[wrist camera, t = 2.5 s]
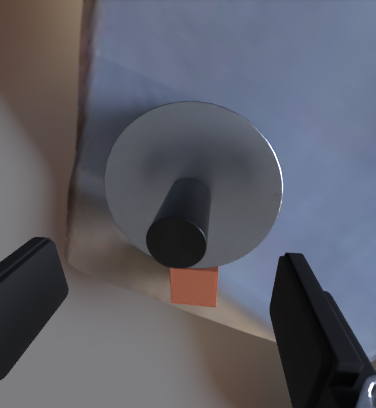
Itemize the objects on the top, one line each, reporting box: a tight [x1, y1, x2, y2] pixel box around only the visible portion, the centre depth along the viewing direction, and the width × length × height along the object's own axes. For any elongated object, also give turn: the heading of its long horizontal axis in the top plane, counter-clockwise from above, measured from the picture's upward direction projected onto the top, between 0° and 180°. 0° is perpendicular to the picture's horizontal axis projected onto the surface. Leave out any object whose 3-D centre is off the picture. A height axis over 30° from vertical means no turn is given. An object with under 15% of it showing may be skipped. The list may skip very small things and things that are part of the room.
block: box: [170, 266, 218, 307], centre depth 26 cm, size 5×5×5 cm
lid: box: [104, 101, 283, 269], centre depth 14 cm, size 12×12×7 cm
